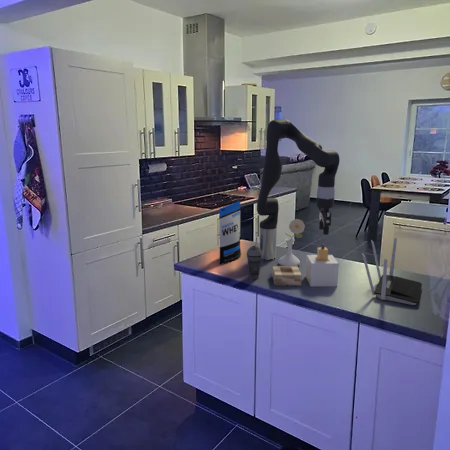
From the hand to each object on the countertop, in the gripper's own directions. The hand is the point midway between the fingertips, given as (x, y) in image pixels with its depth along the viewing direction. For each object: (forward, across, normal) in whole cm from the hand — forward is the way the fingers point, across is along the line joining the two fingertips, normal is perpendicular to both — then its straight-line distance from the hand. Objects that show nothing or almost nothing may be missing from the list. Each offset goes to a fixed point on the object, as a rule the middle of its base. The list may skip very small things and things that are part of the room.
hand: (323, 231), depth 178 cm
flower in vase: (+24, -22, -11) cm, 34 cm away
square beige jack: (+24, -1, -16) cm, 29 cm away
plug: (+16, 0, 0) cm, 16 cm away
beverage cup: (+24, -5, -31) cm, 40 cm away
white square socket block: (+24, 0, 0) cm, 24 cm away
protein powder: (+24, -34, -42) cm, 59 cm away
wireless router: (+24, +12, +28) cm, 39 cm away
